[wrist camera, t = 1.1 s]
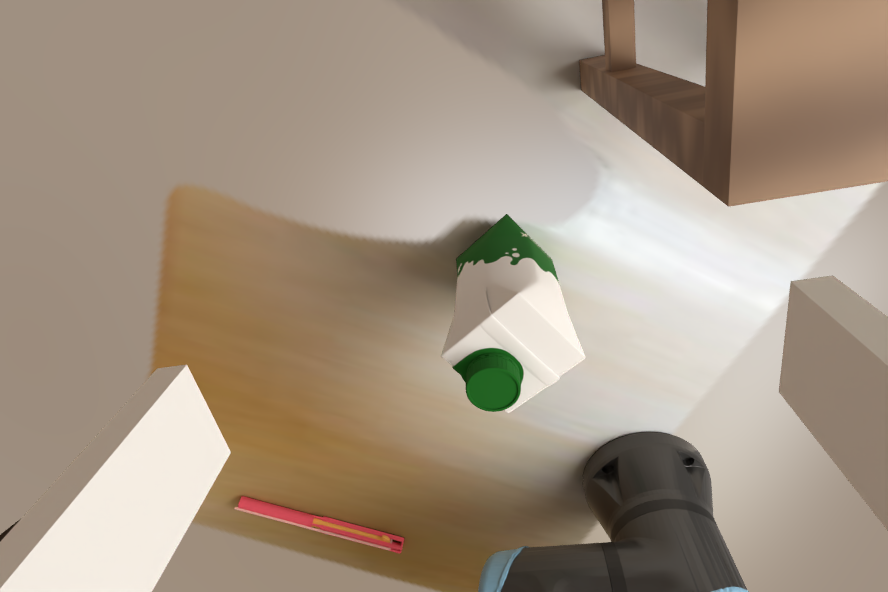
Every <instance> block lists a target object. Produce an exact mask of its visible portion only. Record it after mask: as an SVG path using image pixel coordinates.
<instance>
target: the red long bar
mask: <svg viewBox="0 0 888 592" xmlns="http://www.w3.org/2000/svg"><path fill="white" fill-rule="evenodd" d="M234 509H235V510H239V511H243V512H246V513H250V514H254V515H258V516H261V517H265V518H269V519H273V520H276V521H280V522H284V523H288V524H292V525H295V526H299V527H303V528H307V529H310V530H314V531H318V532H321V533H324V534H328V535H332V536H336V537H340V538H343V539H347V540H351V541H355V542H358V543H362V544H366V545H370V546H374V547H377V548H381V549H385V550H389V551H392V552H396V553H401V551H402V547H403V542H404V538H403V537H399V536H395V535H392V534H388V533H384V532H380V531H377V530H373V529H369V528H365V527H362V526H358V525H354V524H350V523H347V522H343V521H339V520H336V519H332V518H328V517H324V516H323V517H319V516H315V515H311V514H308V513H304V512H300V511H296V510H293V509H289V508H285V507H282V506H278V505H274V504H270V503H267V502H263V501H259V500H256V499H252V498H248V497H244V496H242V497H241V499H240V501H239V504H238V508H237V507H235V508H234ZM311 526H313V527H317V528H319V529H320V530H319V529H316V528H312V527H311ZM390 540H391V541H390ZM392 540H396V541H400V542H401V544H400V543H396V542H392Z"/></svg>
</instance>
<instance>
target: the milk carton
mask: <svg viewBox="0 0 888 592" xmlns="http://www.w3.org/2000/svg"><path fill="white" fill-rule="evenodd" d="M456 262H457V288H456V299H455V310H454V317H453V320H452V323H451V326H450V330H449V333H448V336H447V339H446V342H445V345H444V348H443V351H442V354H441V357H442V358H444V359H445V360H446V361H447V362H448V363H450V364H451V365H452V366H453V367H452V368H453V369H454V370H455V371H457V372H458V373H459V374H460V375H461V376H462V378H463V380H464V381H465V382H466V393H467V397H468V399H469V400H470V401H471V403H472V404H473V405H475V406H476V407H478V408H480V409H482V410H485V411H492V412H495V411H502V410H505V411H506V412H507V413H510V412H511V411H513V410H514V409H516V408H517V407H519V406H520V405H521V404H523V403H524V402H526V401H527V400H529V399H530V398H532V397H533V396H535V395H536V394H537V393H539V392H540V391H542V390H543V389H545V388H546V387H548V386H550V385H552V384H553V383H555V382H556V381H557V380H559V379H560V376H561V375H562V374H564V373H565V372H567V371H568V370H570V369H571V368H572V367H574V366H575V365H577V364H578V363H579V362H581V361H582V360H584V359H585V358H586V357H585V355H584V352H583V350H582V347H581V345H580V342H579V340H578V337H577V335H576V332H575V330H574V327H573V325H572V322H571V320H570V317H569V315H568V312H567V309H566V306H565V302H564V299H563V295H562V292H561V289H560V285H559V282H558V278H557V275H556V271H555V268H554V265H553V261H552V259H551V258H550V257H549V256H548V255H547V254H546V253H545V252H544V251H543V250H542V249H541V248H540V247H539V246H538V245H537V244H536V243H535V242H534V241H533V240H532V239H531V238H530V237H529V236H528V235H527V234H526V233H525V232H524V231H523V230H522V229H521V228H520V227H519V226H518V225H517V224H516V223H515V222H514V221H513V220H512V219H511V218H510V217H509V216H508V215H507V214H506V215H505V216H504V217H503V218H501V219H500V220H499V221H498V222H497V223H496V224H495V225H494V226H493V227H491V228H490V229H489V230H488V231H487V232H486V233H485V234H484V235H482V236H481V237H480V238H479V239H478V240H477V241H476V242H475V243H474V244H472V245H471V246H470V247H469V248H468V249H467V250H466V251H465V252H463V253H462V254H461V255H460V256H459V257H458V258H457V259H456Z"/></svg>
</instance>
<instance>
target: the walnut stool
mask: <svg viewBox="0 0 888 592" xmlns="http://www.w3.org/2000/svg"><path fill="white" fill-rule="evenodd" d="M602 9H603V27H604V45H605V55H602V56H597V57H592V58H587V59H583V60H579V66H580V79H581V90H582V91H583V92H584V93H585V94H587V95H588V96H589V97H590V98H592V99H593V100H594V101H595V102H597V103H598V104H599V105H601V106H602V107H603V108H604V109H606V110H607V111H608V112H609V113H611V114H612V115H613V116H614V117H616V118H617V119H618V120H620V121H621V122H622V123H623V124H625V125H626V126H627V127H628V128H630V129H631V130H632V131H633V132H635V133H636V134H637V135H639V136H640V137H641V138H642V139H644V140H645V141H646V142H647V143H649V144H650V145H651V146H652V147H654V148H655V149H656V150H658V151H659V152H660V153H661V154H663V155H664V156H665V157H666V158H668V159H669V160H670V161H671V162H673V163H674V164H675V165H677V166H678V167H679V168H680V169H682V170H683V171H684V172H685V173H687V174H688V175H689V176H690V177H692V178H693V179H694V180H696V181H697V182H698V183H699V184H701V185H702V186H703V187H704V188H706V189H707V190H708V191H709V192H711V193H712V194H713V195H715V196H716V197H717V198H718V199H720V200H721V201H722V202H723V203H725V204H726V205H727V206H734V205H741V204H747V203H753V202H760V201H766V200H772V199H778V198H785V197H791V196H797V195H804V194H810V193H816V192H823V191H829V190H835V189H841V188H848V187H854V186H860V185H867V184H873V183H879V182H885V181H888V0H708V5H707V46H706V86H705V87H704V86H701V85H698V84H695V83H692V82H689V81H687V80H684V79H681V78H678V77H675V76H672V75H669V74H666V73H663V72H660V71H657V70H654V69H651V68H648V67H645V66H642V65H639V64H636V52H635V19H634V0H602Z"/></svg>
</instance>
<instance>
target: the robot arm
mask: <svg viewBox="0 0 888 592" xmlns="http://www.w3.org/2000/svg"><path fill="white" fill-rule="evenodd" d="M779 393H780V394H781V395H782V396H783V398H784V399H785V400H786V402H787V403H788V404H789V405H790V407H791V408H792V409H793V410H794V412H795V413H796V414H797V416H798V417H799V418H800V419H801V421H802V422H803V423H804V425H805V426H806V427H807V428H808V429H809V431H810V432H811V433H812V435H813V436H814V437H815V439H816V440H817V441H818V442H819V444H820V445H821V446H822V447H823V449H824V450H825V451H826V452H827V454H828V455H829V456H830V458H831V459H832V460H833V461H834V463H835V464H836V465H837V467H838V468H839V469H840V470H841V472H842V473H843V474H844V475H845V477H846V478H847V479H848V481H850V483H851V484H852V486H853V487H854V488H855V489H856V491H857V492H858V493H859V494H860V496H861V497H862V498H863V500H864V501H865V502H866V504H867V505H868V506H869V507H870V509H871V510H872V511H873V513H874V514H875V515H876V516H877V518H878V519H879V520H880V521H881V523H882V524H883V525H884V527H885V528H886V529H887V530H888V317H887V316H886V315H885V314H883V313H882V312H881V311H879V310H878V309H877V308H875V307H874V306H873V305H871V304H870V303H869V302H867V301H866V300H865V299H863V298H862V297H861V296H859V295H858V294H857V293H855V292H854V291H853V290H851V289H850V288H849V287H847V286H846V285H845V284H843V283H842V282H841V281H839V280H838V279H837V278H835V277H834V276H826V277H819V278H811V279H804V280H797V281H791V284H790V293H789V303H788V312H787V321H786V330H785V340H784V349H783V359H782V368H781V376H780V386H779ZM230 453H231V452H230V450H229V448H228V446H227V444H226V442H225V440H224V438H223V436H222V434H221V432H220V430H219V428H218V426H217V424H216V422H215V420H214V418H213V416H212V414H211V412H210V410H209V408H208V406H207V404H206V402H205V400H204V398H203V396H202V394H201V392H200V390H199V388H198V386H197V384H196V382H195V380H194V378H193V376H192V374H191V372H190V370H189V368H188V366H187V365H181V366H174V367H166V368H159V369H156V371H155V372H154V373H153V374H152V375H151V376H150V377H149V378H148V379H147V380H146V382H145V383H144V384H143V385H142V386H141V387H140V388H139V389H138V390H137V391H136V393H135V394H134V395H133V396H132V397H131V398H130V399H129V400H128V402H127V403H126V404H125V405H124V406H123V407H122V408H121V409H120V410H119V412H117V414H116V415H115V416H114V417H113V418H112V419H111V420H110V421H109V422H108V423H107V425H106V426H105V427H104V428H103V429H102V430H101V431H100V433H98V434H97V436H96V437H95V438H94V439H93V440H92V441H91V442H90V443H89V444H88V446H87V447H86V448H85V449H84V450H83V451H82V452H81V453H80V454H79V455H78V457H77V458H76V459H75V460H74V461H73V462H72V463H71V464H70V465H69V466H68V468H67V469H66V470H65V471H64V472H63V473H62V474H61V475H60V476H59V478H58V479H57V480H56V481H55V482H54V483H53V484H52V485H51V486H50V487H49V489H48V490H47V491H46V492H45V493H44V494H43V495H42V496H41V497H40V498H39V500H38V501H37V502H36V503H35V504H34V505H33V506H32V507H31V508H30V510H29V511H28V512H27V513H26V514H25V515H24V516H23V517H22V518H21V519H20V520H19V521H17V522H16V523H15V524H14V525H12V526H11V527H10V528H8V529H7V530H6V531H5V532H3V533H2V534H1V535H0V592H152V590H153V589H154V587H155V585H156V583H157V582H158V580H159V578H160V576H161V575H162V573H163V571H164V569H165V568H166V566H167V564H168V562H169V560H170V559H171V557H172V555H173V553H174V552H175V550H176V548H177V546H178V545H179V543H180V541H181V539H182V538H183V536H184V534H185V532H186V531H187V529H188V527H189V525H190V524H191V522H192V520H193V518H194V517H195V515H196V513H197V511H198V509H199V508H200V506H201V504H202V502H203V501H204V499H205V497H206V495H207V494H208V492H209V490H210V488H211V487H212V485H213V483H214V481H215V479H216V478H217V476H218V474H219V472H220V471H221V469H222V467H223V465H224V464H225V462H226V460H227V458H228V457H229V455H230ZM583 487H584V491H585V496H586V500H587V502H588V505H589V507H590V509H591V510H592V512H593V513H594V515H595V516H596V518H597V519H598V521H599V522H600V524H601V525H602V527H603V528H604V530H605V531H606V533H607V534H608V536H609V537H610V539H611V542H608V543H591V544H575V545H560V546H545V547H528V546H523V547H520V548H518V549H514V550H506V551H499V552H496V553H495V554H493V555H492V556H490V557H489V558H488V559H487V561H486V563H485V565H484V567H483V570H482V574H481V578H480V583H479V590H478V592H749V591H747V588H746V586H745V584H744V582H743V580H742V578H741V576H740V574H739V571H738V569H737V567H736V565H735V563H734V561H733V559H732V556H731V554H730V552H729V550H728V548H727V546H726V543H725V541H724V539H723V537H722V535H721V533H720V531H719V529H718V527H717V524H716V522H715V520H714V518H713V507H712V487H711V478H710V474H709V471H708V469H707V467H706V464H705V463H704V460H703V458H702V456H701V455H700V453H699V452H698V450H697V449H696V448H695V447H694V446H692V445H691V444H690V443H688V442H687V441H685V440H683V439H681V438H679V437H676V436H673V435H670V434H665V433H658V432H643V433H635V434H630V435H626V436H623V437H620V438H618V439H615V440H613V441H611V442H609V443H608V444H606V445H604V446H603V447H602V448H600V449H599V450H598V451H597V452H596V453H595V454H594V455H593V456H592V457H591V458H590V460H589V461H588V463H587V465H586V467H585V469H584V473H583Z"/></svg>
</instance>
